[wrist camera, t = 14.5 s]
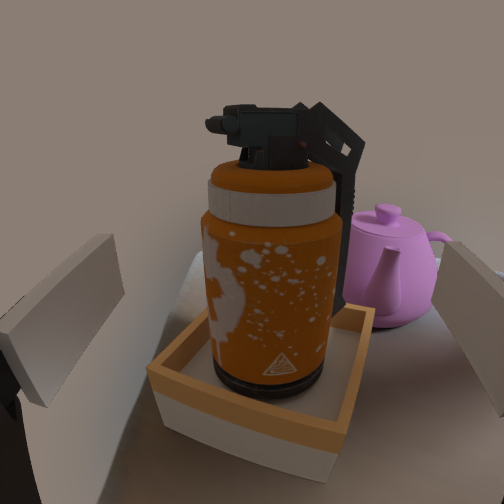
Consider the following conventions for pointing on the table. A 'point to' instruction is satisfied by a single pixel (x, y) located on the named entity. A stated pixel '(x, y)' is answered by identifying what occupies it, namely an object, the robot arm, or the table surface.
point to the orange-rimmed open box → (265, 411)
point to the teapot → (390, 266)
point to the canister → (277, 245)
